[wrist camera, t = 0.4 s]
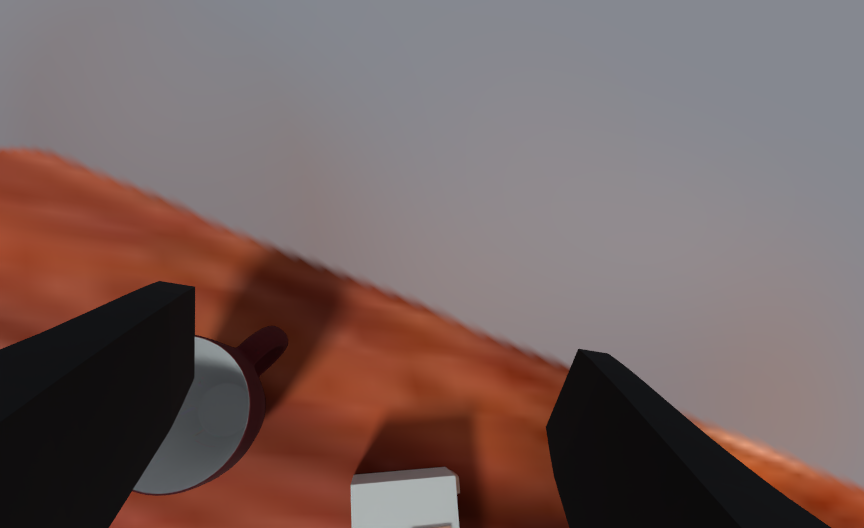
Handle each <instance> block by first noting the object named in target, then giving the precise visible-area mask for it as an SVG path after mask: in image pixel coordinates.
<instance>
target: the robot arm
mask: <svg viewBox="0 0 864 528" xmlns="http://www.w3.org/2000/svg"><path fill="white" fill-rule="evenodd" d="M194 378H195V287H193V286H187V285H180V284H174V283H168V282H162V281H158V282H156V283H153V284H150V285H148V286H145V287H143V288H140V289H138V290H136V291H133V292H131V293H129V294H127V295H124V296H122V297H120V298H118V299H116V300H113V301H111V302H109V303H107V304H105V305H102V306H100V307H98V308H96V309H94V310H91V311H89V312H87V313H85V314H82V315H80V316H78V317H76V318H73V319H71V320H69V321H67V322H64V323H62V324H60V325H58V326H56V327H53V328H51V329H49V330H47V331H44V332H42V333H40V334H37V335H35V336H32V337H30V338H27V339H25V340H22V341H20V342H17V343H15V344H13V345H10V346H8V347H5V348H3V349H0V528H109V526H110V525H111V523H112V522H113V520H114V519H115V517H116V515H117V514H118V512H119V511H120V509H121V507H122V506H123V504H124V503H125V501H126V500H127V498H128V496H129V495H130V493H131V492H132V490H133V489H134V487H135V485H136V484H137V482H138V481H139V479H140V478H141V476H142V474H143V473H144V471H145V470H146V468H147V466H148V465H149V463H150V462H151V460H152V458H153V457H154V455H155V454H156V452H157V450H158V449H159V447H160V446H161V444H162V442H163V441H164V439H165V438H166V436H167V434H168V433H169V431H170V429H171V428H172V426H173V424H174V421H175V419H176V417H177V415H178V413H179V411H180V409H181V407H182V405H183V403H184V400H185V398H186V396H187V394H188V391H189V389H190V387H191V385H192V382H193V380H194ZM546 431H547V437H548V444H549V451H550V457H551V462H552V467H553V473H554V478H555V481H556V484H557V488H558V491H559V495H560V498H561V501H562V505H563V508H564V511H565V514H566V518H567V521H568V524H569V527H570V528H831V527H829V526H828V525H826V524H825V523H824V522H822V521H821V520H819V519H818V518H816V517H815V516H813V515H812V514H811V513H809V512H808V511H806V510H805V509H803V508H802V507H801V506H799V505H798V504H796V503H795V502H793V501H792V500H790V499H789V498H788V497H786V496H785V495H784V494H782V493H781V492H779V491H778V490H777V489H775V488H774V487H773V486H771V485H770V484H769V483H767V482H766V481H765V480H763V479H762V478H761V477H759V476H758V475H757V474H755V473H754V472H753V471H752V470H750V469H749V468H748V467H746V466H745V465H744V464H743V463H741V462H740V461H739V460H737V459H736V458H735V457H734V456H732V455H731V454H730V453H729V452H727V451H726V450H725V449H724V448H722V447H721V446H720V445H719V444H717V443H716V442H715V441H714V440H712V439H711V438H710V437H709V436H708V435H706V434H705V433H704V432H703V431H702V430H700V429H699V428H698V427H697V426H695V425H694V424H693V423H692V422H691V421H690V420H688V419H687V418H686V417H685V416H684V415H682V414H681V413H680V412H679V411H678V410H677V409H675V408H674V407H673V406H672V405H671V404H670V403H668V402H667V401H666V400H665V399H664V398H663V397H661V396H660V395H659V394H658V393H657V392H655V391H654V390H653V389H652V388H651V387H650V386H648V385H647V384H646V383H645V382H644V381H643V380H641V379H640V378H639V377H638V376H637V375H635V374H634V373H633V372H632V371H630V370H629V369H628V368H627V367H625V366H624V365H623V364H622V363H620V362H619V361H618V360H616V359H615V358H613V357H612V356H611V355H609V354H607V353H601V352H594V351H588V350H582V349H578V351H577V353H576V356H575V359H574V361H573V363H572V365H571V368H570V370H569V373H568V375H567V378H566V380H565V382H564V385H563V387H562V390H561V392H560V394H559V397H558V399H557V402H556V404H555V407H554V409H553V411H552V414H551V416H550V419H549V421H548V423H547V426H546Z"/></svg>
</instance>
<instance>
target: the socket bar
mask: <svg viewBox="0 0 864 528" xmlns="http://www.w3.org/2000/svg"><path fill="white" fill-rule="evenodd" d="M457 493H460V487H459V476H458V475H457V474H455V473H454V472H453V471H452V470H449V469H447V468H446V467H436V468H425V469H413V470H402V471H390V472H379V473H368V474H356V475H354V476H353V479H352V482H351V518H352V528H459V517H458V504H457Z"/></svg>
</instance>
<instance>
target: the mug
mask: <svg viewBox="0 0 864 528" xmlns="http://www.w3.org/2000/svg"><path fill="white" fill-rule="evenodd" d="M287 345H288V338H287V335H286V334H285V333H284V331H282V330H281V329H280V328H278V327H276V326H268V327H265V328H262V329H260V330H259V331H257V332H255V333H254V334H252V335H251V336H250V337H248V338H247V339H246V340H245V341H244V342H243V343H241V344H240V345H239V346H238V347H237V348H234V347H230V346H228V345H225V344H223V343H220V342H218V341H215V340H212V339H208V338H205V337H202V336H197V335H195V378H194V380H193V382H192V385H191V387H190V389H189V391H188V394H187V396H186V398H185V400H184V403H183V405H182V407H181V409H180V411H179V413H178V415H177V417H176V419H175V421H174V424H173V426H172V428H171V429H170V431H169V433H168V434H167V436H166V438H165V439H164V441H163V442H162V444H161V446H160V447H159V449H158V450H157V452H156V454H155V455H154V457H153V458H152V460H151V462H150V463H149V465H148V466H147V468H146V470H145V471H144V473H143V474H142V476H141V478H140V479H139V481H138V482H137V484H136V485H135V487H134V489H133V490H132V491H133V492H136V493H140V494H145V495H155V496H159V495H171V494H177V493H181V492H185V491H188V490H191V489H193V488H196V487H199V486H201V485H203V484H205V483H208V482H210V481H212V480H214V479H215V478H217V477H219V476H220V475H222V474H223V473H225V472H226V471H228V470H229V469H230V468H231V467H233V466H234V465H235V464H236V463H237V462H238V461H239V460H240V459H241V458H242V457H243V455H244V454H245V453H246V452H247V450H248V449H249V447H250V446H251V444H252V443H253V441H254V439H255V438H256V436H257V434H258V432H259V430H260V428H261V426H262V423H263V420H264V416H265V408H266V401H265V395H264V390H263V387H262V385H261V382H260V379H259V376H260V375H261V374H262V373H263V372H265V371H266V370H267V369H268V368H269V367H270V366H271V365H272V364H273V363H274V362H275V361H276V360H277V359H278V358H279V357H280V356H281V355H282V354H283V352H284V351H285V349H286V347H287Z"/></svg>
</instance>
